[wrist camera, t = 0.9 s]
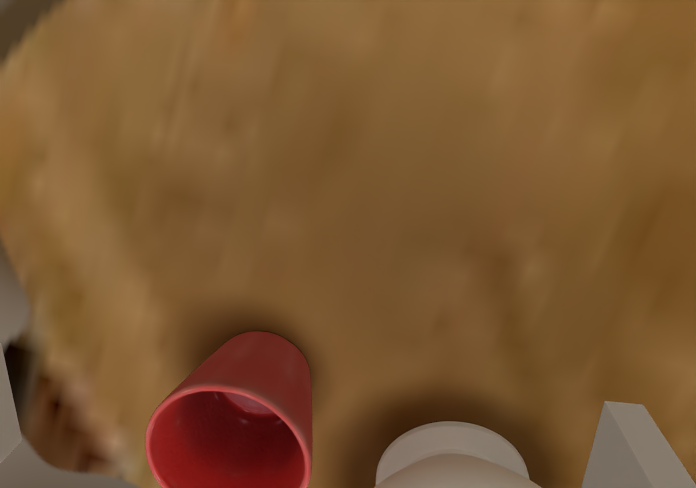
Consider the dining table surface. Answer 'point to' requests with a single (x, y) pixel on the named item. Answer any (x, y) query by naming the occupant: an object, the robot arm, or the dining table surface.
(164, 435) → the flower pot
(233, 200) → the dining table surface
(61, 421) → the dining table surface
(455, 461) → the decorative vase
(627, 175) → the dining table surface
